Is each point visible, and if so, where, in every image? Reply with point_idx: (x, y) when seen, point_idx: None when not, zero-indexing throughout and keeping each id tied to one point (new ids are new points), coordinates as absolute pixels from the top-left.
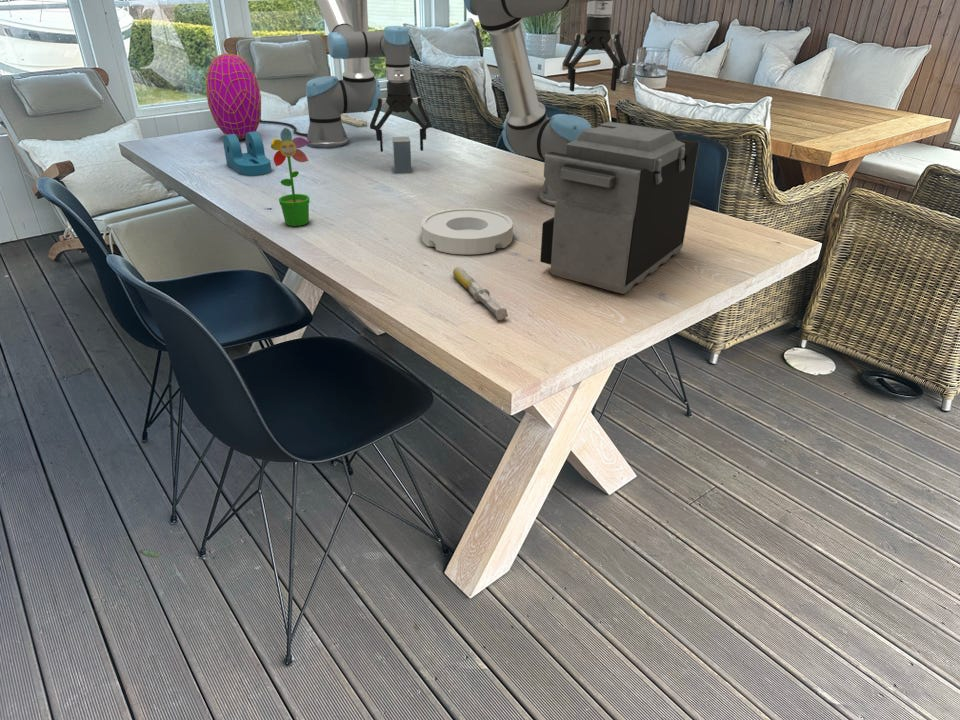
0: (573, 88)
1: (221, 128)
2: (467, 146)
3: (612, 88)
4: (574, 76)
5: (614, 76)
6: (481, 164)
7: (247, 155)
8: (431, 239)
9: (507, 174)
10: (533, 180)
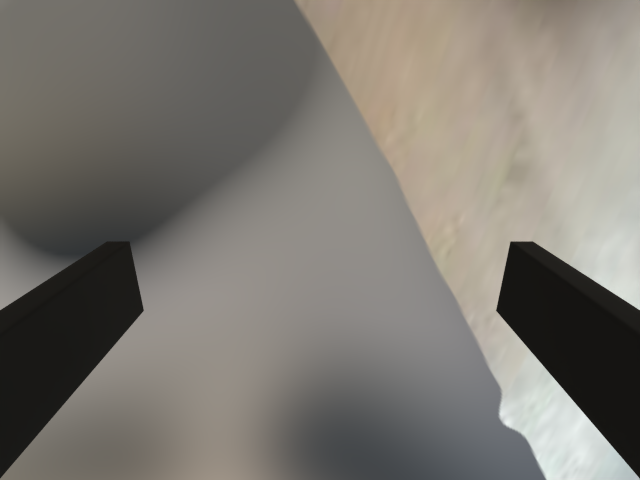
0: (533, 251)
1: None
2: (564, 438)
3: (126, 274)
4: (622, 312)
5: (36, 317)
6: (609, 272)
7: None
8: None
9: (583, 153)
10: (531, 67)
